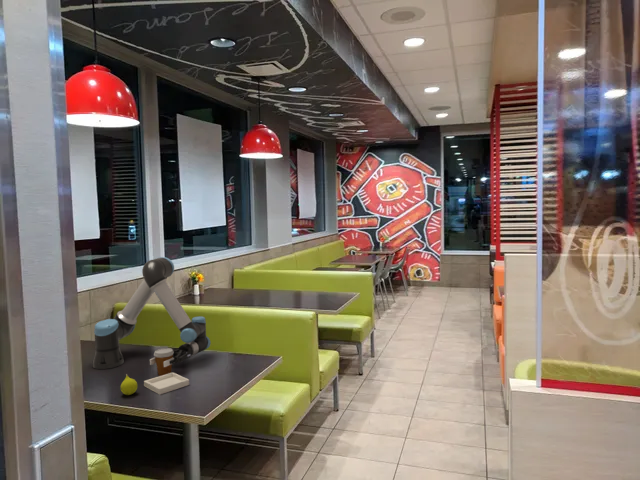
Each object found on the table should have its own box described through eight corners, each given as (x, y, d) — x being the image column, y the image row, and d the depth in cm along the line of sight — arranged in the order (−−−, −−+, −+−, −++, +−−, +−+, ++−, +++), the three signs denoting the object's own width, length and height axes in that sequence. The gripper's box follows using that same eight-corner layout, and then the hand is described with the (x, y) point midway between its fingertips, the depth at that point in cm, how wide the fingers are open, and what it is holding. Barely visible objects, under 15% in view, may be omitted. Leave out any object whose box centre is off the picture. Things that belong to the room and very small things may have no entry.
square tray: (144, 386, 219) (143, 381, 218) (173, 377, 229) (172, 372, 229) (159, 394, 208) (159, 389, 208) (189, 384, 219) (189, 379, 219)
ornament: (126, 391, 213) (125, 369, 213) (140, 391, 213) (139, 370, 212) (117, 397, 206) (116, 375, 205) (132, 397, 205) (131, 375, 205)
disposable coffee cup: (168, 377, 229) (167, 354, 228) (151, 376, 231) (149, 353, 230) (178, 371, 238) (177, 348, 237) (161, 370, 240) (160, 347, 239)
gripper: (203, 359, 246) (174, 373, 225) (173, 354, 255) (141, 368, 234) (203, 345, 245) (173, 358, 225) (172, 341, 254) (140, 353, 233)
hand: (157, 363), depth 229 cm, fingers closed on disposable coffee cup, 8 cm apart
